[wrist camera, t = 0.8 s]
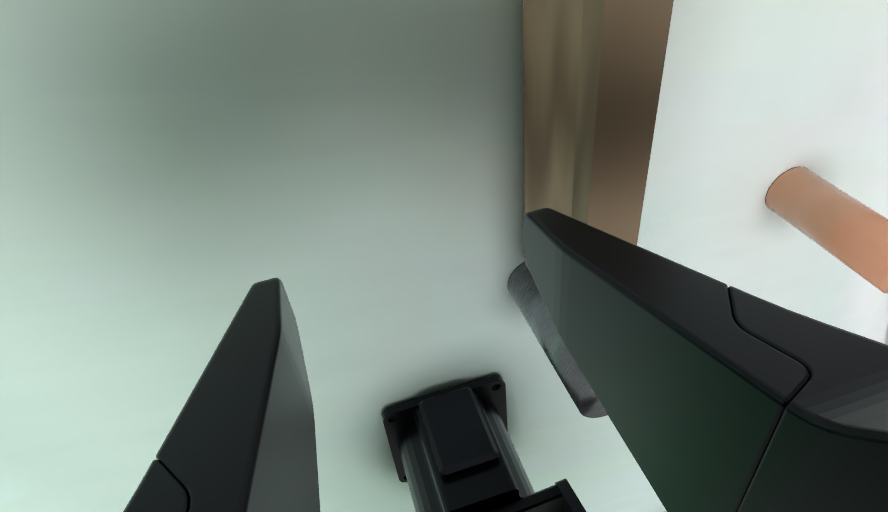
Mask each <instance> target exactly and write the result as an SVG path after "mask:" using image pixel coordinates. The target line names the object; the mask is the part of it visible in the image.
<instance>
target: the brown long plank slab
mask: <svg viewBox="0 0 888 512" xmlns="http://www.w3.org/2000/svg"><path fill="white" fill-rule="evenodd" d="M672 7H673V0H523V84H524V205H525V214H526V213H527V212H530V211H534V210H537V209H541V208H550V209H553V210H555V211H557V212H560V213H562V214H564V215H567V216H569V217H571V218H574V219H576V220H578V221H581V222H583V223H585V224H588V225H590V226H592V227H595V228H597V229H599V230H602V231H604V232H606V233H609V234H611V235H613V236H616V237H618V238H620V239H623V240H625V241H627V242H630V243H632V244H634V245H637V240H638V233H639V227H640V220H641V213H642V207H643V200H644V193H645V187H646V180H647V174H648V167H649V160H650V154H651V147H652V140H653V134H654V127H655V120H656V114H657V107H658V100H659V94H660V87H661V80H662V74H663V67H664V60H665V54H666V47H667V40H668V34H669V27H670V20H671V14H672ZM525 265H526V266H527V264H526V261H525ZM527 268H528V266H527ZM528 269H529V268H528ZM529 271H530V270H529Z"/></svg>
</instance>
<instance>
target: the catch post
mask: <svg viewBox="0 0 888 512" xmlns="http://www.w3.org/2000/svg"><path fill="white" fill-rule="evenodd" d="M766 205H767V207H768V208H770V209H771V210H772V211H774V212H775V213H776V214H778V215H779V216H780V217H782V218H783V219H784V220H786V221H787V222H789V223H790V224H791V225H793V226H794V227H795V228H797V229H798V230H799V231H801V232H802V233H803V234H805V235H806V236H807V237H809V238H810V239H812V240H813V241H814V242H816V243H817V244H818V245H820V246H821V247H822V248H824V249H825V250H826V251H828V252H829V253H830V254H832V255H833V256H835V257H836V258H837V259H839V260H840V261H841V262H843V263H844V264H845V265H847V266H848V267H849V268H851V269H852V270H853V271H855V272H856V273H858V274H859V275H860V276H862V277H863V278H864V279H866V280H867V281H868V282H870V283H871V284H872V285H874V286H875V287H876V288H878V289H879V290H881V291H882V292H883V293H888V219H886V218H885V217H883V216H882V215H880V214H878V213H877V212H875V211H874V210H872V209H870V208H869V207H867V206H866V205H864V204H862V203H861V202H859V201H858V200H856V199H854V198H853V197H851V196H850V195H848V194H846V193H845V192H843V191H842V190H840V189H838V188H837V187H835V186H834V185H832V184H830V183H829V182H827V181H826V180H824V179H822V178H821V177H819V176H818V175H816V174H814V173H813V172H811V171H810V170H808V169H806V168H804V167H796V168H793V169H790V170H788V171H786V172H785V173H783V174H782V175H781V176H780V177H778V178H777V179H776V180H775V182H774V183H773V184H772V185H771V187H770V189H769V190H768V193H767V195H766Z"/></svg>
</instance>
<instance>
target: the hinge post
mask: <svg viewBox="0 0 888 512" xmlns="http://www.w3.org/2000/svg"><path fill="white" fill-rule="evenodd" d="M508 289H509V292H510V294H511V295H512V297H513V299H514V300H515V302H516V304H517V306H518V307H519V309H520V311H521V312H522V314H523V316H524V318H525V319H526V321H527V323H528V324H529V326H530V328H531V329H532V331H533V333H534V335H535V336H536V338H537V340H538V341H539V343H540V345H541V347H542V348H543V350H544V352H545V353H546V355H547V357H548V359H549V360H550V362H551V364H552V365H553V367H554V369H555V370H556V372H557V374H558V376H559V377H560V379H561V381H562V382H563V384H564V386H565V388H566V389H567V391H568V393H569V394H570V396H571V398H572V400H573V401H574V403H575V405H576V406H577V408H578V410H579V412H580V413H581V414H582V415H583V416H585V417H589V418H597V417H602V416H606V415H608V414H607V412H606V411H605V409H604V408H603V406H602V404H601V403H600V401H599V399H598V398H597V396H596V395H595V393H594V391H593V390H592V388H591V386H590V385H589V383H588V382H587V380H586V378H585V377H584V375H583V373H582V372H581V370H580V368H579V367H578V365H577V364H576V362H575V360H574V359H573V357H572V355H571V354H570V352H569V351H568V349H567V347H566V346H565V344H564V342H563V340H562V339H561V337H560V335H559V333H558V331H557V329H556V327H555V325H554V323H553V321H552V319H551V317H550V314H549V312H548V310H547V308H546V306H545V303H544V301H543V299H542V297H541V295H540V292H539V290H538V288H537V286H536V284H535V281H534V279H533V277H532V275H531V273H530V271H529V269H528V268H527V266H526V265H525V262H524V263H523V264H521V265H520V266H519V267H517V268H516V269H515V270H514V272H513V273H512V274H511V276H510V278H509V281H508Z"/></svg>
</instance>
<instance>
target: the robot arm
mask: <svg viewBox="0 0 888 512" xmlns="http://www.w3.org/2000/svg"><path fill="white" fill-rule="evenodd" d="M523 252H524V257H525V261H526V264H527V266H528V268H529V270H530V273H531V275H532V277H533V279H534V281H535V284H536V286H537V288H538V290H539V292H540V295H541V297H542V299H543V301H544V303H545V306H546V308H547V310H548V312H549V314H550V317H551V319H552V321H553V323H554V325H555V327H556V329H557V331H558V333H559V335H560V337H561V339H562V340H563V342H564V344H565V346H566V347H567V349H568V351H569V352H570V354H571V355H572V357H573V359H574V360H575V362H576V364H577V365H578V367H579V368H580V370H581V372H582V373H583V375H584V377H585V378H586V380H587V382H588V383H589V385H590V386H591V388H592V390H593V391H594V393H595V395H596V396H597V398H598V399H599V401H600V403H601V404H602V406H603V408H604V409H605V411H606V412H607V414H608V416H609V417H610V419H611V421H612V422H613V424H614V426H615V427H616V429H617V430H618V432H619V434H620V435H621V437H622V439H623V440H624V442H625V443H626V445H627V447H628V448H629V450H630V452H631V453H632V455H633V457H634V458H635V460H636V461H637V463H638V465H639V466H640V468H641V470H642V471H643V473H644V474H645V476H646V478H647V479H648V481H649V483H650V484H651V486H652V488H653V489H654V491H655V492H656V494H657V496H658V497H659V499H660V501H661V502H662V504H663V505H664V507H665V509H666V510H667V512H888V345H886V344H883V343H880V342H877V341H874V340H871V339H868V338H866V337H863V336H860V335H857V334H854V333H851V332H848V331H845V330H843V329H840V328H837V327H834V326H831V325H828V324H826V323H823V322H820V321H817V320H815V319H812V318H809V317H806V316H804V315H801V314H798V313H796V312H793V311H790V310H787V309H785V308H783V307H780V306H778V305H775V304H773V303H770V302H768V301H765V300H763V299H760V298H758V297H756V296H753V295H751V294H748V293H746V292H744V291H741V290H739V289H737V288H735V287H732V286H730V287H727V285H726V284H725V283H723V282H720V281H718V280H716V279H713V278H711V277H709V276H706V275H704V274H702V273H699V272H697V271H695V270H692V269H690V268H688V267H685V266H683V265H681V264H678V263H676V262H674V261H671V260H669V259H667V258H664V257H662V256H660V255H657V254H655V253H653V252H650V251H648V250H646V249H643V248H641V247H639V246H637V245H634V244H632V243H630V242H627V241H625V240H623V239H620V238H618V237H616V236H613V235H611V234H609V233H606V232H604V231H602V230H599V229H597V228H595V227H592V226H590V225H588V224H585V223H583V222H581V221H578V220H576V219H574V218H571V217H569V216H567V215H564V214H562V213H560V212H557V211H555V210H553V209H550V208H541V209H537V210H534V211H530V212H527V213H526V214H525V215H524V218H523ZM382 419H383V423H384V426H385V430H386V433H387V437H388V441H389V444H390V448H391V451H392V455H393V459H394V462H395V466H396V469H397V473H398V477H399V480H400V481H401V482H408V485H409V489H410V492H411V496H412V500H413V503H414V507H415V511H416V512H586V510H585V509H584V507H583V506H582V504H581V502H580V501H579V499H578V497H577V496H576V494H575V492H574V491H573V489H572V488H571V486H570V484H569V483H568V481H567V480H566V479H563V480H561V481H558V482H556V483H555V485H554V486H551V487H549V488H546V489H544V490H541V491H539V492H536V493H535V492H534V490H533V488H532V486H531V483H530V481H529V479H528V477H527V474H526V472H525V470H524V468H523V466H522V463H521V461H520V459H519V457H518V455H517V452H516V450H515V448H514V446H513V443H512V441H511V439H510V437H509V435H508V432H507V412H506V390H505V383H504V380H503V378H502V377H501V376H500V375H493V376H490V377H486V378H483V379H480V380H477V381H473V382H470V383H467V384H464V385H460V386H457V387H454V388H451V389H447V390H444V391H441V392H438V393H434V394H431V395H428V396H425V397H421V398H418V399H415V400H411V401H408V402H405V403H402V404H398V405H395V406H392V407H389V408H387V409H385V410H384V411H383V413H382ZM156 458H157V459H158V460H154V461H153V462H152V463H151V465H150V467H149V469H148V470H147V472H146V474H145V476H144V477H143V479H142V481H141V483H140V485H139V486H138V488H137V490H136V491H135V493H134V495H133V496H132V498H131V500H130V501H129V503H128V505H127V506H126V508H125V510H124V511H123V512H320V501H319V485H318V469H317V454H316V438H315V422H314V412H313V404H312V398H311V392H310V387H309V382H308V377H307V372H306V367H305V362H304V357H303V352H302V347H301V342H300V337H299V332H298V327H297V323H296V319H295V316H294V313H293V310H292V308H291V305H290V302H289V300H288V297H287V294H286V291H285V289H284V286H283V284H282V282H281V280H280V279H279V278H272V279H269V280H265V281H261V282H257V283H255V284H253V285H252V287H251V288H250V290H249V292H248V294H247V295H246V297H245V299H244V301H243V303H242V304H241V306H240V308H239V310H238V311H237V313H236V315H235V317H234V318H233V320H232V322H231V324H230V326H229V327H228V329H227V331H226V333H225V334H224V336H223V338H222V340H221V342H220V343H219V345H218V347H217V349H216V350H215V352H214V354H213V356H212V357H211V359H210V361H209V363H208V365H207V366H206V368H205V370H204V372H203V373H202V375H201V377H200V379H199V380H198V382H197V384H196V386H195V388H194V389H193V391H192V393H191V395H190V396H189V398H188V400H187V402H186V404H185V405H184V407H183V409H182V411H181V412H180V414H179V416H178V418H177V419H176V421H175V423H174V425H173V427H172V428H171V430H170V432H169V434H168V435H167V437H166V439H165V441H164V442H163V444H162V446H161V448H160V450H159V451H158V453H157V455H156Z"/></svg>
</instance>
